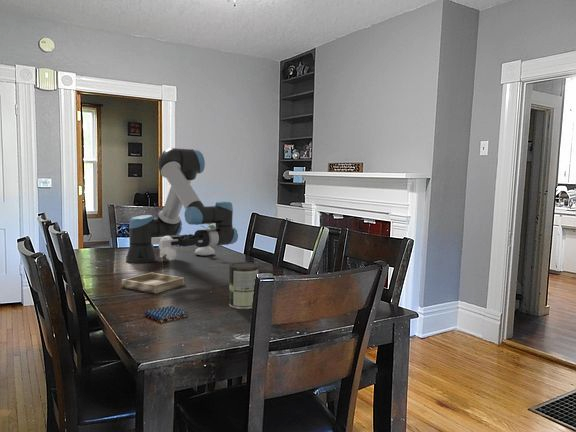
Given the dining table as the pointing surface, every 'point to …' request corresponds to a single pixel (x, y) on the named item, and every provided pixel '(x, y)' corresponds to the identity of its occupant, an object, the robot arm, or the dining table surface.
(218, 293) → the dining table surface
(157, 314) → the woven mat
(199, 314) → the dining table surface
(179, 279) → the birch tray
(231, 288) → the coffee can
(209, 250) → the flower in vase
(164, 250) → the white rounded lump
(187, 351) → the dining table surface
